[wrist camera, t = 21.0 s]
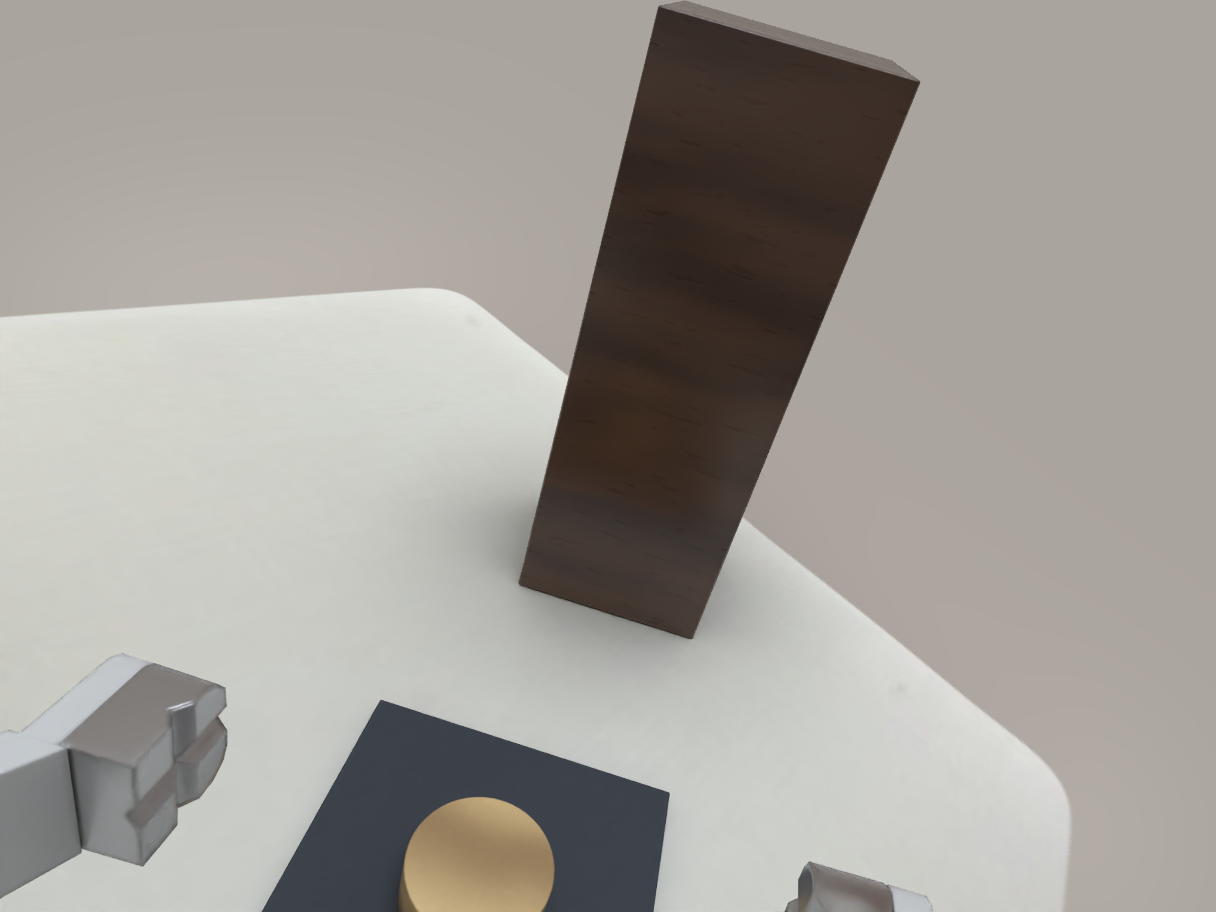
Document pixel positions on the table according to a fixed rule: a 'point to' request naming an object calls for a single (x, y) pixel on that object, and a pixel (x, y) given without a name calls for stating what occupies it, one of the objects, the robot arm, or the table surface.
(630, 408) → the stand
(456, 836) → the spoon
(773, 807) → the table surface
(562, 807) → the mat
